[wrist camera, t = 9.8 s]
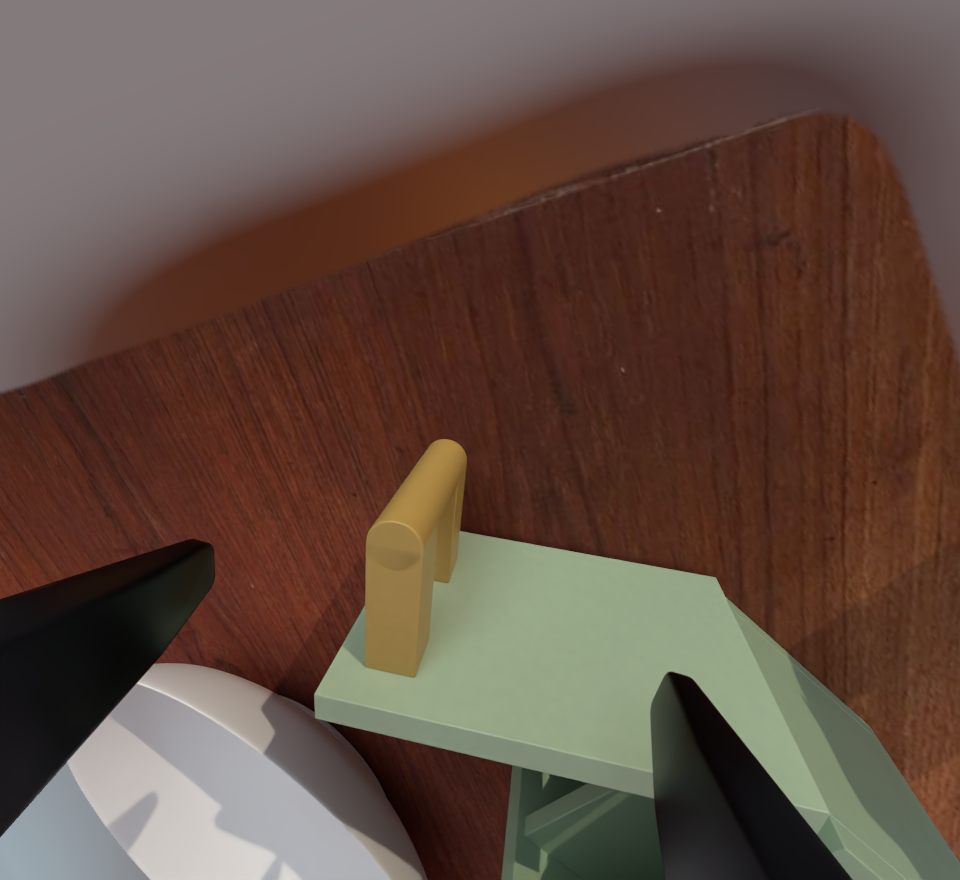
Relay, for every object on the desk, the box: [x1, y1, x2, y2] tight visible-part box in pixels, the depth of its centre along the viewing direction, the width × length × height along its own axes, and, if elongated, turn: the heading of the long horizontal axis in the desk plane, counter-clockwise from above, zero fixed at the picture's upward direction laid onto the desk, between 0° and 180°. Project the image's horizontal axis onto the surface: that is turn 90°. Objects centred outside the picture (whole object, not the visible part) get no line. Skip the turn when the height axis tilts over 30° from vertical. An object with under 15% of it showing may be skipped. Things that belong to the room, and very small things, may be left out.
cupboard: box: [501, 598, 960, 880], centre depth 19 cm, size 10×14×10 cm
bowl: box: [67, 663, 428, 880], centre depth 27 cm, size 30×15×6 cm, turn 26°
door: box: [314, 439, 830, 834], centre depth 16 cm, size 6×14×9 cm, turn 84°
